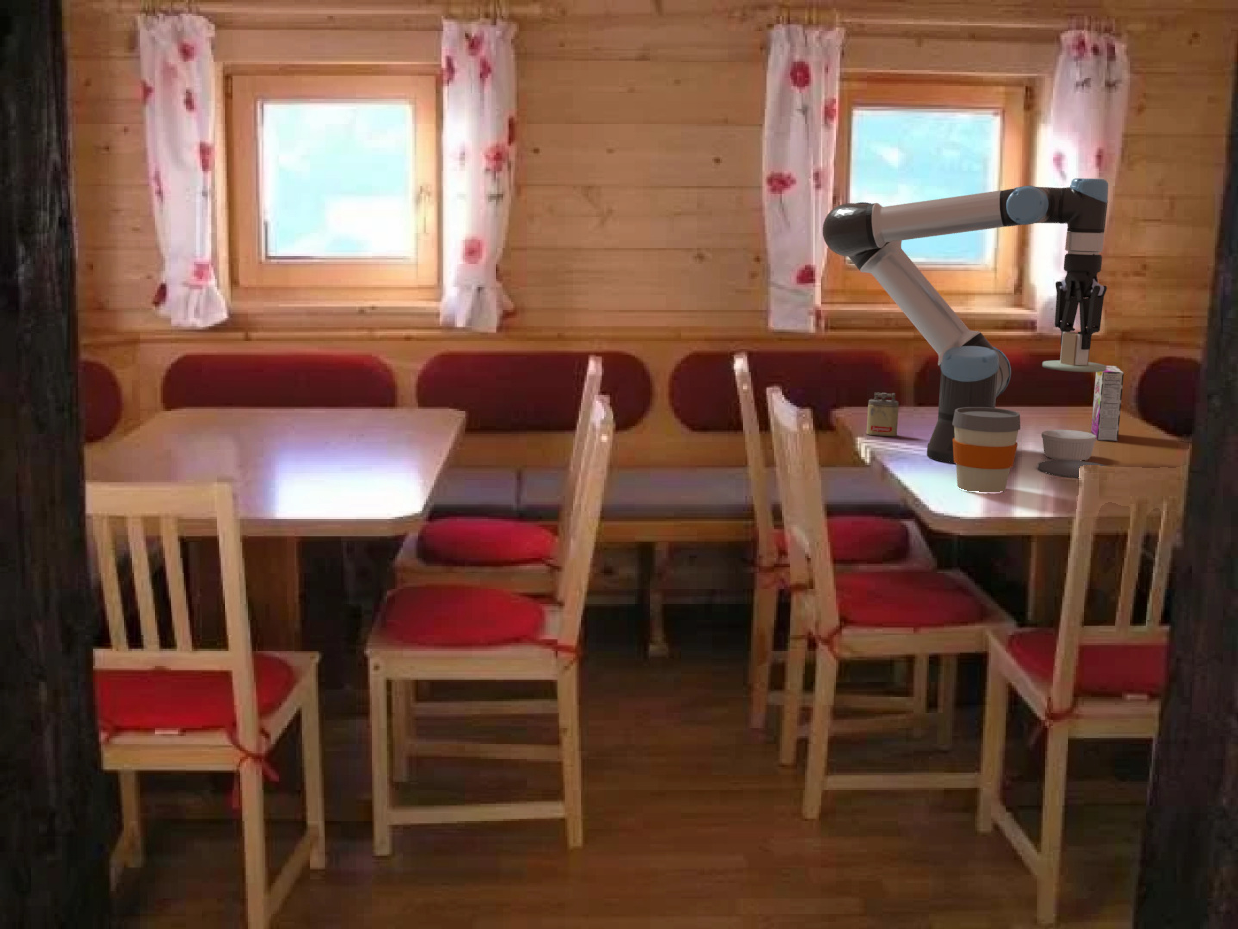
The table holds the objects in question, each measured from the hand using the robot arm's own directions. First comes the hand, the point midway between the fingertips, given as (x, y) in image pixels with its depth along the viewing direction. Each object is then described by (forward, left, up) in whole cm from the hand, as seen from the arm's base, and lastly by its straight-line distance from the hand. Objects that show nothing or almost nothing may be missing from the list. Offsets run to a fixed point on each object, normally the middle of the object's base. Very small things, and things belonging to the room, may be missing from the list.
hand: (1073, 363), depth 289 cm
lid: (0, 0, -1) cm, 1 cm away
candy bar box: (+26, +18, -21) cm, 38 cm away
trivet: (-8, -13, -21) cm, 26 cm away
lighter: (-25, +34, -21) cm, 47 cm away
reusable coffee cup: (-38, -22, -21) cm, 49 cm away
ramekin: (0, 0, -21) cm, 21 cm away
